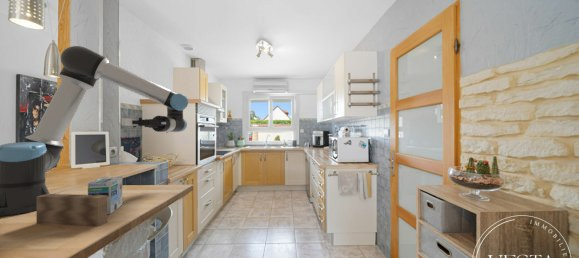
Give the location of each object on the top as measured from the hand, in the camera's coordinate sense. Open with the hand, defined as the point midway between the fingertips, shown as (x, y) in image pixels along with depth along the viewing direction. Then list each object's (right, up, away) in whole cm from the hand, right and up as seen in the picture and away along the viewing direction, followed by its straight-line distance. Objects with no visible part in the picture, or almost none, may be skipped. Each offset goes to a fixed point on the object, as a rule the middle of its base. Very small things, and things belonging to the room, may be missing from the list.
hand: (123, 121), depth 89 cm
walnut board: (-2, -31, -19) cm, 36 cm away
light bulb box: (-1, -31, -8) cm, 32 cm away
